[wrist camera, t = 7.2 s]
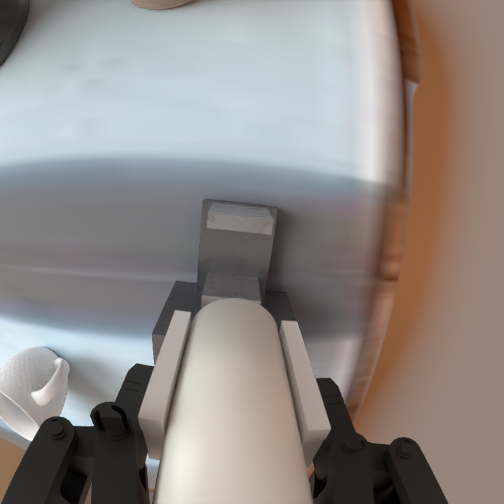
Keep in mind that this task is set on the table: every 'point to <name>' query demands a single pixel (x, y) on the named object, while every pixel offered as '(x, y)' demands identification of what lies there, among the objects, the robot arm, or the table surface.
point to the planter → (159, 3)
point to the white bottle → (232, 415)
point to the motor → (229, 265)
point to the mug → (32, 389)
